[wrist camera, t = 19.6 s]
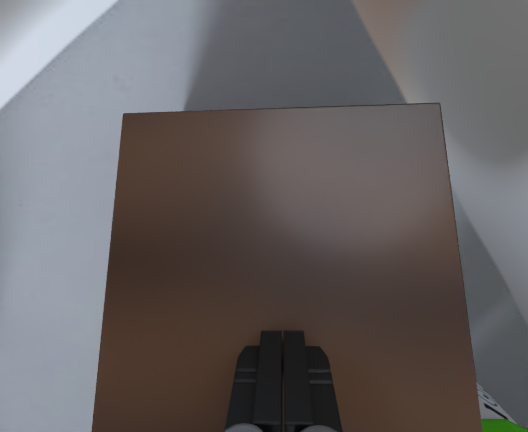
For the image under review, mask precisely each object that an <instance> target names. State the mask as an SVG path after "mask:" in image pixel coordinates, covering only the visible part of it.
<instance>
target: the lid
mask: <svg viewBox="0 0 528 432" xmlns="http://www.w3.org/2000/svg"><path fill="white" fill-rule="evenodd" d="M261 330H282V397H283V432H284V338H283V330H304V335H305V345H306V346H320V347H321V348H322V350H323V351H324V352H325V354H326V355H327V356H328V359H329V364H330V369H331V374H332V379H333V384H334V390H335V395H336V400H337V405H338V410H339V415H340V420H341V426H342V430H343V432H483V430H482V422H481V414H480V407H479V399H478V391H477V383H476V376H475V368H474V360H473V353H472V345H471V337H470V329H469V322H468V314H467V306H466V299H465V291H464V283H463V275H462V268H461V260H460V252H459V245H458V237H457V229H456V221H455V214H454V206H453V198H452V191H451V183H450V175H449V167H448V160H447V153H446V144H445V137H444V129H443V121H442V113H441V106H440V103H420V104H419V103H417V104H387V105H358V106H328V107H298V108H269V109H239V110H209V111H180V112H150V113H124V114H123V120H122V130H121V140H120V150H119V160H118V171H117V181H116V191H115V201H114V211H113V221H112V231H111V242H110V252H109V262H108V272H107V282H106V292H105V302H104V312H103V323H102V333H101V343H100V353H99V363H98V373H97V383H96V393H95V404H94V414H93V424H92V432H223V431H224V428H225V425H226V419H227V414H228V408H229V403H230V397H231V392H232V386H233V383H234V375H235V372H236V364H237V359H238V356H239V354H240V353H241V352H242V350H243V349H244V347H245V346H260V337H261Z"/></svg>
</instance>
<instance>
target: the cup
mask: <svg viewBox="0 0 528 432" xmlns="http://www.w3.org/2000/svg"><path fill="white" fill-rule="evenodd" d="M476 383H477V382H476ZM477 391H478V399H479V407H480V414H481V422H482V430H483V432H528V429H526V428H524V427H522V426H520V425H518V424H517V423H516V422H515V421H514V420H513V419H512V418H511V417H510V416H509V415H508V414H507V413H506V412H505V411H504V410H503V409H502V408H501V407H500V406H499V405H498V404H497V402H496V401H495V400H494V399H493V398H492V397H491V396H490V395H489V394H488V393H487V392H486V391H485V390H484V389H483V388H482V387H481V386H480V385H479V384H478V383H477Z"/></svg>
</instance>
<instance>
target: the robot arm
mask: <svg viewBox="0 0 528 432" xmlns="http://www.w3.org/2000/svg"><path fill="white" fill-rule="evenodd" d="M283 338H284V432H343V430H342V426H341V420H340V415H339V410H338V405H337V400H336V395H335V390H334V384H333V379H332V374H331V369H330V364H329V359H328V356H327V355H326V354H325V352H324V351H323V350H322V348H321V347H320V346H306V345H305V335H304V330H283ZM223 432H283V397H282V330H261V337H260V346H245V347H244V349H243V350H242V352H241V353H240V354H239V356H238V359H237V364H236V372H235V375H234V383H233V386H232V392H231V397H230V403H229V408H228V414H227V419H226V425H225V428H224V431H223Z"/></svg>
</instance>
